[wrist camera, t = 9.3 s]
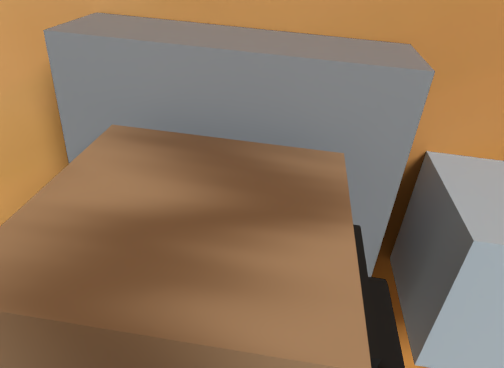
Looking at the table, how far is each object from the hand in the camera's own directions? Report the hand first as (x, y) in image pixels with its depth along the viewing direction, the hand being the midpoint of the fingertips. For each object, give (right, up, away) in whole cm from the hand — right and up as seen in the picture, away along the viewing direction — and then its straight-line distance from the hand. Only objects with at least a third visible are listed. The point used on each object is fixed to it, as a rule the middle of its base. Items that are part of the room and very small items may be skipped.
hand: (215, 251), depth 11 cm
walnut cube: (0, 0, +1) cm, 1 cm away
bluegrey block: (+9, +1, +4) cm, 10 cm away
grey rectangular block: (+1, +3, +4) cm, 5 cm away
